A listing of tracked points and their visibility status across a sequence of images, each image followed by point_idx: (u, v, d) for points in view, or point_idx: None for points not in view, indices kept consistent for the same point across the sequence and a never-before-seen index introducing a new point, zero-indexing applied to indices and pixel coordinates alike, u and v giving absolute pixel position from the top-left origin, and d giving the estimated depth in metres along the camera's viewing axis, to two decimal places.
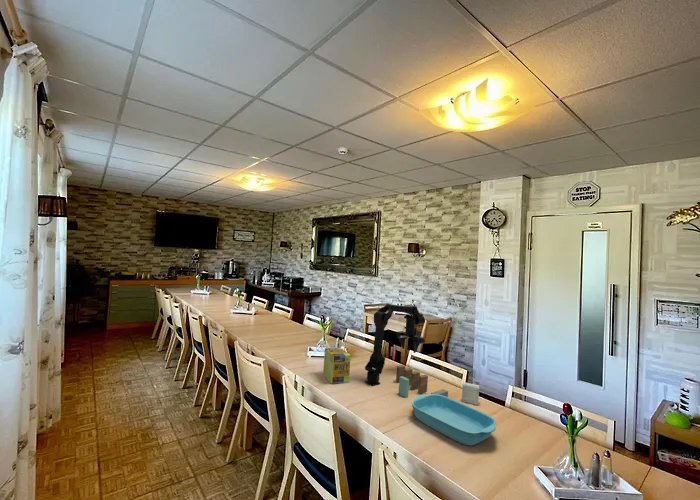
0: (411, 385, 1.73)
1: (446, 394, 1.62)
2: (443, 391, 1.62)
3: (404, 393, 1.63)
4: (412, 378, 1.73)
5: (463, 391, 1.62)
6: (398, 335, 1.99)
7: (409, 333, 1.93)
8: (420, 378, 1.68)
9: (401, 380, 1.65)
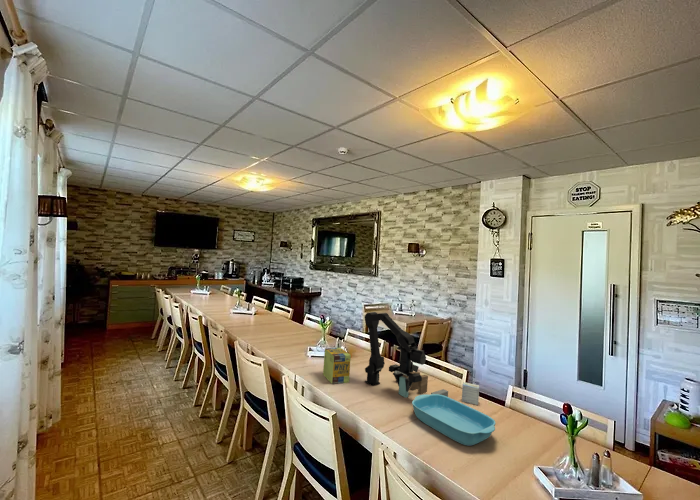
0: (411, 385, 1.73)
1: (446, 394, 1.62)
2: (443, 391, 1.62)
3: (404, 393, 1.63)
4: None
5: (463, 391, 1.62)
6: (391, 370, 1.68)
7: (404, 369, 1.62)
8: None
9: (401, 380, 1.65)
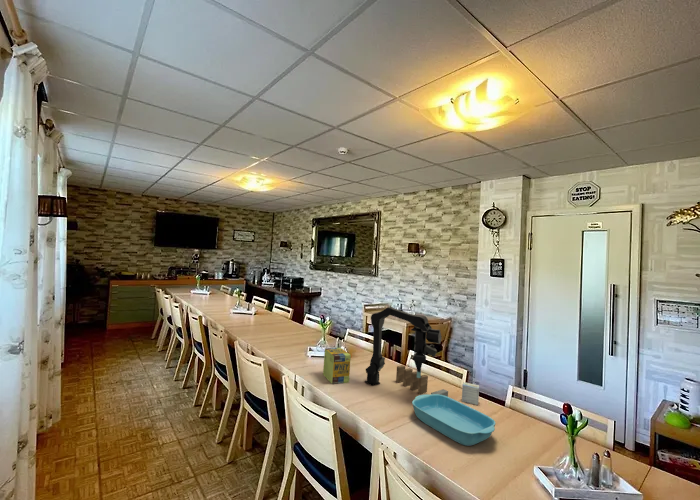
0: (411, 385, 1.73)
1: (446, 394, 1.62)
2: (443, 391, 1.62)
3: None
4: (412, 378, 1.73)
5: (463, 391, 1.62)
6: None
7: (415, 348, 1.64)
8: (420, 378, 1.68)
9: None
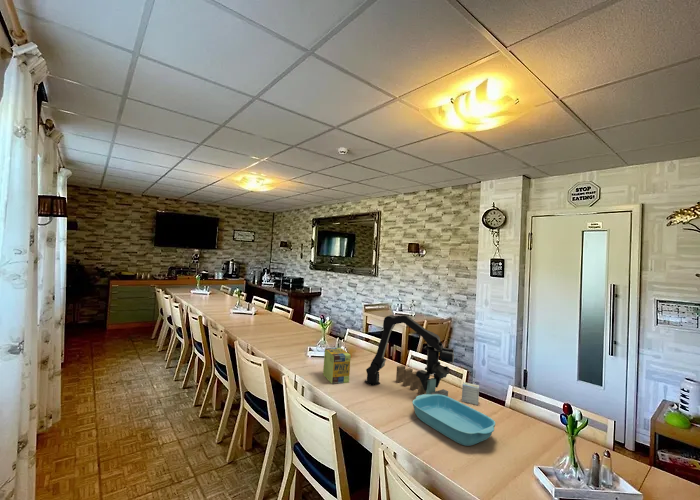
0: (411, 385, 1.73)
1: (446, 394, 1.62)
2: (443, 391, 1.62)
3: None
4: (412, 378, 1.73)
5: (463, 391, 1.62)
6: None
7: None
8: None
9: None
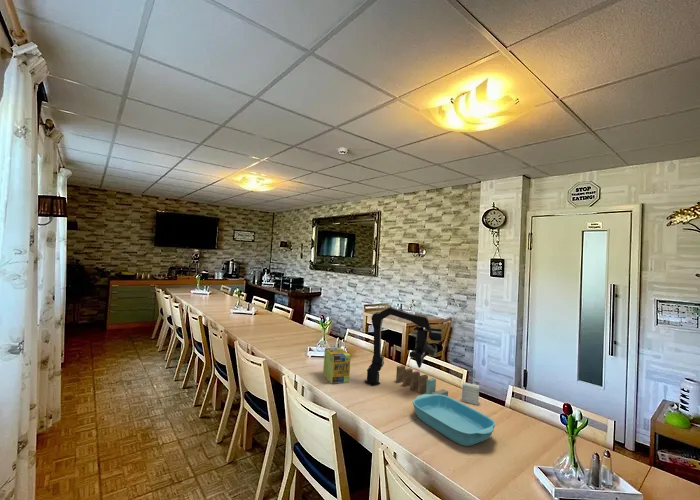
0: (411, 385, 1.73)
1: (446, 394, 1.62)
2: (443, 391, 1.62)
3: None
4: (412, 378, 1.73)
5: (463, 391, 1.62)
6: None
7: (416, 346, 1.72)
8: (420, 378, 1.68)
9: None
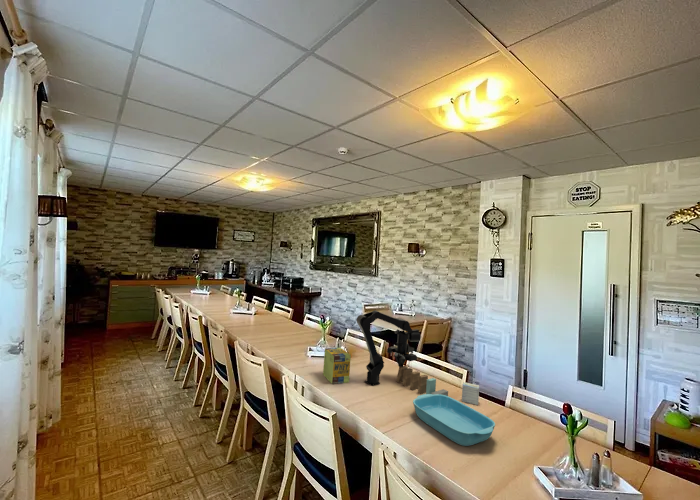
0: (411, 385, 1.73)
1: (446, 394, 1.62)
2: (443, 391, 1.62)
3: None
4: (412, 378, 1.73)
5: (463, 391, 1.62)
6: (389, 351, 1.87)
7: (401, 350, 1.81)
8: (420, 378, 1.68)
9: None
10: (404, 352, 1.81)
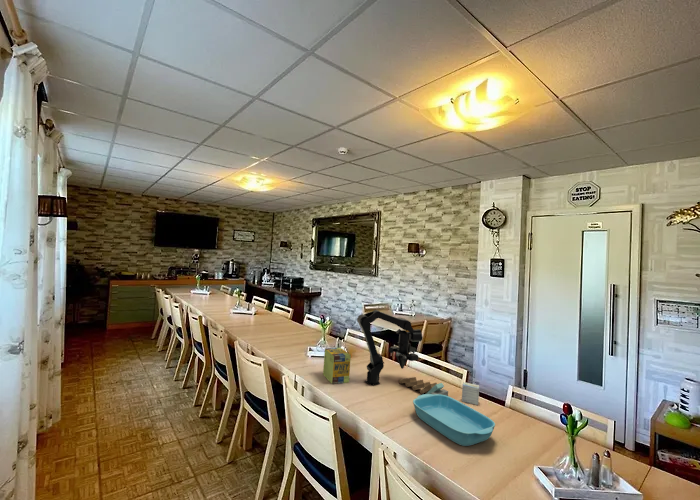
0: (415, 387, 1.71)
1: (446, 394, 1.62)
2: (443, 391, 1.62)
3: None
4: (420, 386, 1.68)
5: (463, 391, 1.62)
6: (391, 351, 1.86)
7: (402, 349, 1.80)
8: (430, 387, 1.63)
9: None
10: (406, 352, 1.80)
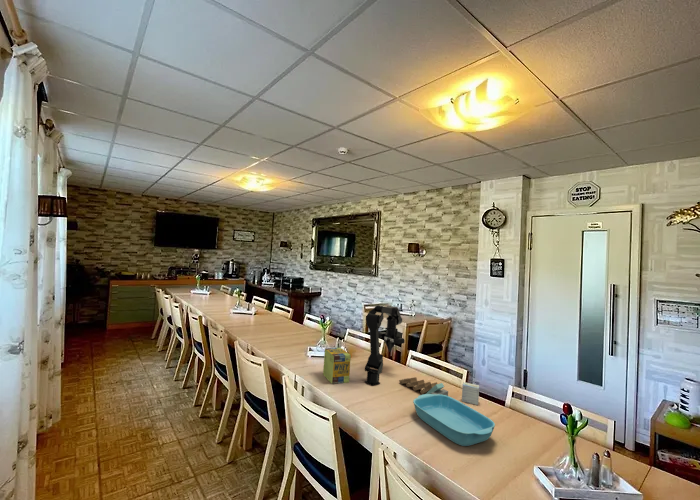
0: (416, 387, 1.70)
1: (446, 394, 1.62)
2: (443, 391, 1.62)
3: None
4: (420, 386, 1.68)
5: (463, 391, 1.62)
6: (379, 336, 2.01)
7: (390, 334, 1.95)
8: (430, 386, 1.63)
9: None
10: (393, 336, 1.95)
